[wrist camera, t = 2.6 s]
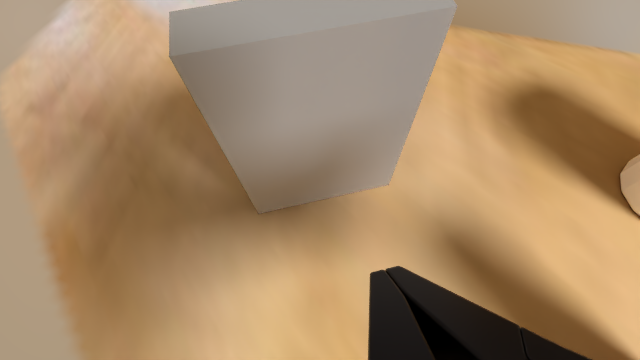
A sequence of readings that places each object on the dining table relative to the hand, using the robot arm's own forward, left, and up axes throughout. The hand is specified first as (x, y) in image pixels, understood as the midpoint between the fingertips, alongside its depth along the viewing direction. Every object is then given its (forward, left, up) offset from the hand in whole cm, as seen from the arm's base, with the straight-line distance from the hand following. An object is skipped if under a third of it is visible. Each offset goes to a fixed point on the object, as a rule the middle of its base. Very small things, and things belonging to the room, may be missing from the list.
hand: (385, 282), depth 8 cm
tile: (+8, +4, -12) cm, 15 cm away
